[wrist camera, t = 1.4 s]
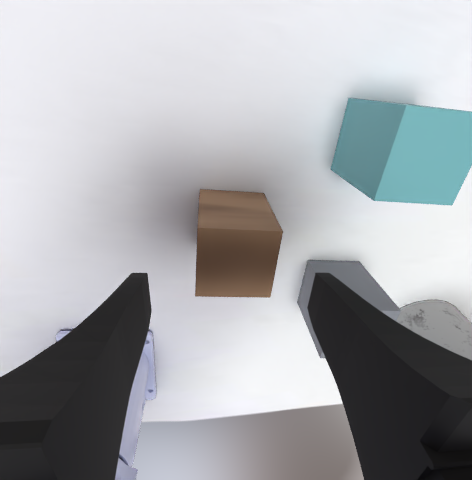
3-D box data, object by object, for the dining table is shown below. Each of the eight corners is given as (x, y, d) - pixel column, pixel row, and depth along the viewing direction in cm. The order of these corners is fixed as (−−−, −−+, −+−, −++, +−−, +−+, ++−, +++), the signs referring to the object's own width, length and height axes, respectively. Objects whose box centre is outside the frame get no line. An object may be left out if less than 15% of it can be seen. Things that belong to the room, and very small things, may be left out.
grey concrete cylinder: (475, 295, 27) (648, 433, 17) (443, 362, 32) (562, 503, 21) (379, 303, 27) (494, 452, 16) (360, 370, 31) (439, 520, 21)
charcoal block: (344, 302, 26) (378, 357, 21) (297, 301, 26) (320, 358, 21) (359, 261, 24) (401, 310, 19) (307, 259, 24) (336, 310, 18)
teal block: (390, 173, 21) (452, 205, 15) (330, 169, 20) (373, 200, 15) (414, 104, 18) (495, 114, 13) (348, 97, 18) (406, 105, 13)
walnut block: (255, 247, 23) (270, 297, 17) (198, 245, 22) (195, 296, 17) (263, 192, 20) (283, 231, 15) (199, 189, 20) (197, 227, 15)
